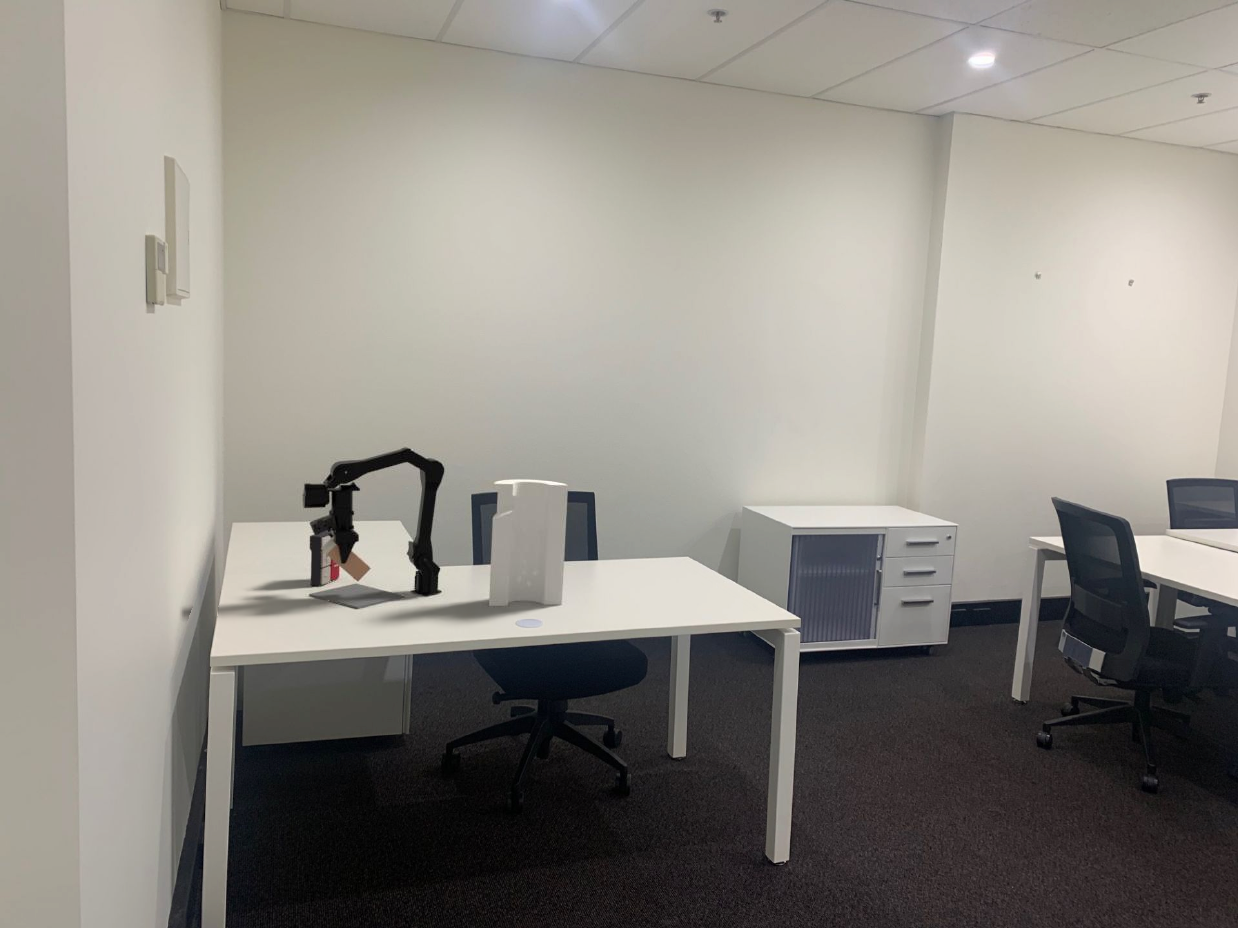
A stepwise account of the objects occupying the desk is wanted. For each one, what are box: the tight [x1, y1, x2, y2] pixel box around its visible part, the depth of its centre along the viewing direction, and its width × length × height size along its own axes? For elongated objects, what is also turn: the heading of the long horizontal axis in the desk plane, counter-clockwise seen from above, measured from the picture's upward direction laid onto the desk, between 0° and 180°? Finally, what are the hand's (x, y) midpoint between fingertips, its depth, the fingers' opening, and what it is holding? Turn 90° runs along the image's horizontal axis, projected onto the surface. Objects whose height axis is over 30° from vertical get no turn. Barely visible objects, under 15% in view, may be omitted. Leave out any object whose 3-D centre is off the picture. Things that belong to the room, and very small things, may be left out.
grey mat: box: [308, 583, 405, 610], centre depth 252 cm, size 20×17×1 cm
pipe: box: [488, 478, 569, 607], centre depth 256 cm, size 35×11×21 cm
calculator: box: [309, 530, 340, 587], centre depth 265 cm, size 11×4×15 cm, turn 168°
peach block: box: [321, 536, 371, 582], centre depth 249 cm, size 5×5×13 cm
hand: (342, 561), depth 248 cm, fingers closed on peach block, 5 cm apart
